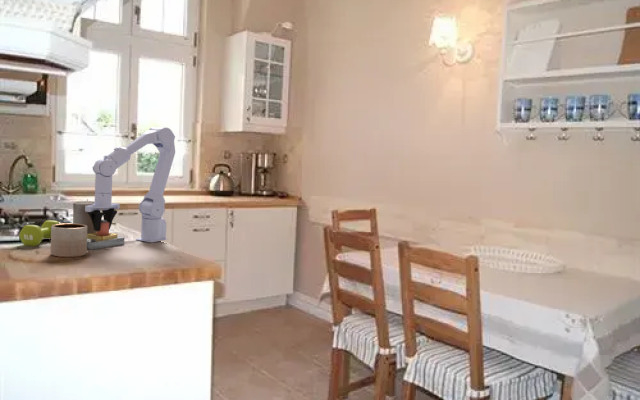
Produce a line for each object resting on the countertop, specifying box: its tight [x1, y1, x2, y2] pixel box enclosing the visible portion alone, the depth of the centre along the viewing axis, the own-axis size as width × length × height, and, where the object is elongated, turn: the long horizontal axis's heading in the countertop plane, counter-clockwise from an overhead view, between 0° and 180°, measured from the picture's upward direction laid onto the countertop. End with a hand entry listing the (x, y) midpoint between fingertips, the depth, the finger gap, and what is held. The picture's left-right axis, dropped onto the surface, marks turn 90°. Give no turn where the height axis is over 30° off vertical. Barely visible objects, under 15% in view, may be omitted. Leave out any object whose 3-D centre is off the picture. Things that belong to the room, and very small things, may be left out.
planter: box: [50, 222, 88, 258], centre depth 179 cm, size 11×11×10 cm
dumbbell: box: [18, 219, 61, 247], centre depth 196 cm, size 16×8×7 cm, turn 176°
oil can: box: [97, 219, 110, 236], centre depth 200 cm, size 4×4×6 cm
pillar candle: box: [72, 199, 97, 234], centre depth 210 cm, size 10×10×15 cm
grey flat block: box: [87, 232, 125, 251], centre depth 197 cm, size 18×11×4 cm, turn 156°
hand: (102, 229), depth 200 cm, fingers open, 4 cm apart
